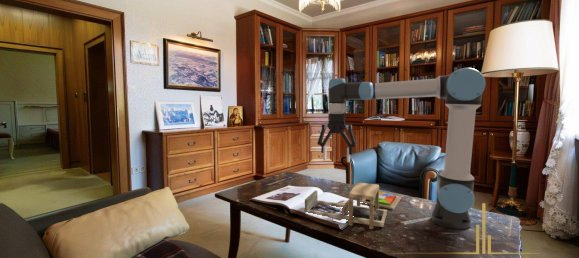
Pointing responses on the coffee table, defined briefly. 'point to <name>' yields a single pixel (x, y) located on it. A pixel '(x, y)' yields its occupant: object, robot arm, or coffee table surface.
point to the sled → (312, 200)
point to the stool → (364, 193)
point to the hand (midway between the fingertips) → (336, 160)
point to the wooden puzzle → (385, 200)
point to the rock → (363, 213)
